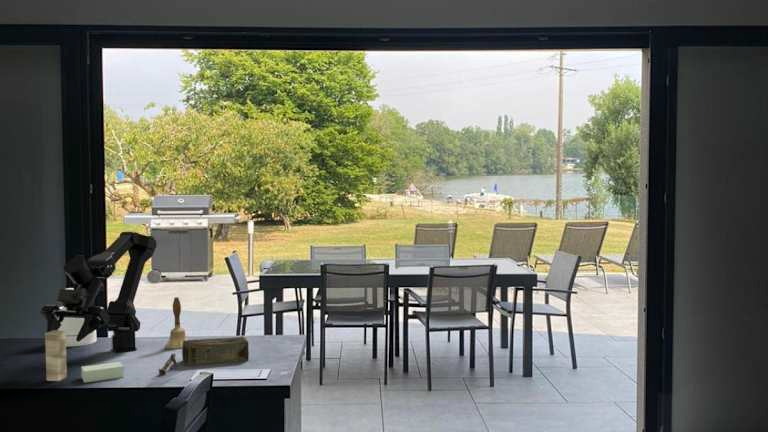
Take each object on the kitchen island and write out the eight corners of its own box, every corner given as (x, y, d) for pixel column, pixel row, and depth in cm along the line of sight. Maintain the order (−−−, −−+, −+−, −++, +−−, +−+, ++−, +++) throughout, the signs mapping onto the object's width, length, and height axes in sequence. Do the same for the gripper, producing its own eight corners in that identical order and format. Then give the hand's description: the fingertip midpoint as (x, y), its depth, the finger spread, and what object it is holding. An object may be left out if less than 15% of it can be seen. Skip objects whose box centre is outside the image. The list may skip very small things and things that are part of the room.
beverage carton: (249, 361, 208) (249, 339, 208) (183, 367, 202) (182, 345, 202) (246, 355, 216) (246, 334, 216) (182, 360, 210) (181, 339, 209)
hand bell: (161, 349, 223) (160, 299, 223) (169, 343, 232) (168, 295, 231) (187, 349, 224) (186, 299, 223) (194, 343, 232) (193, 295, 231)
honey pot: (46, 345, 230) (44, 291, 229) (73, 336, 242) (71, 285, 241) (79, 347, 226) (77, 292, 225) (104, 338, 239) (103, 286, 238)
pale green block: (120, 372, 197) (119, 361, 196) (123, 377, 192) (123, 366, 192) (81, 377, 191) (81, 366, 191) (84, 382, 187) (84, 371, 187)
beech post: (55, 376, 192) (53, 330, 192) (66, 377, 192) (65, 330, 191) (46, 380, 189) (45, 333, 188) (58, 381, 188) (57, 333, 188)
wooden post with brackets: (180, 363, 202) (177, 351, 200) (167, 382, 195) (164, 369, 193) (174, 363, 202) (171, 351, 200) (161, 381, 196) (158, 369, 194)
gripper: (43, 276, 199) (17, 322, 189) (102, 278, 195) (79, 325, 185) (61, 299, 207) (37, 345, 197) (119, 301, 204) (97, 347, 193)
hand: (62, 340), depth 193 cm, fingers open, 9 cm apart
